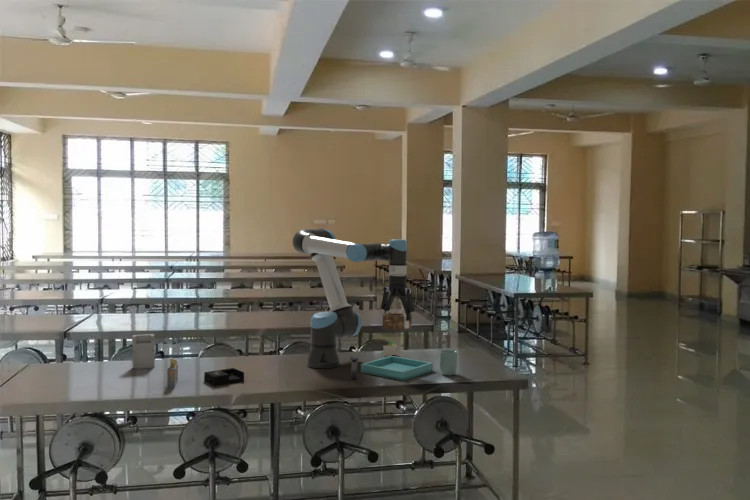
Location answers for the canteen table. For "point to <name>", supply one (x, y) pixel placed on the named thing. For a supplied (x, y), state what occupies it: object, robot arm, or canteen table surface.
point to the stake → (354, 367)
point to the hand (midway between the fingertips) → (397, 326)
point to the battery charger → (223, 377)
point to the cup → (448, 362)
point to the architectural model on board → (172, 375)
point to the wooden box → (395, 321)
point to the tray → (396, 367)
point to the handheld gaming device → (143, 351)
